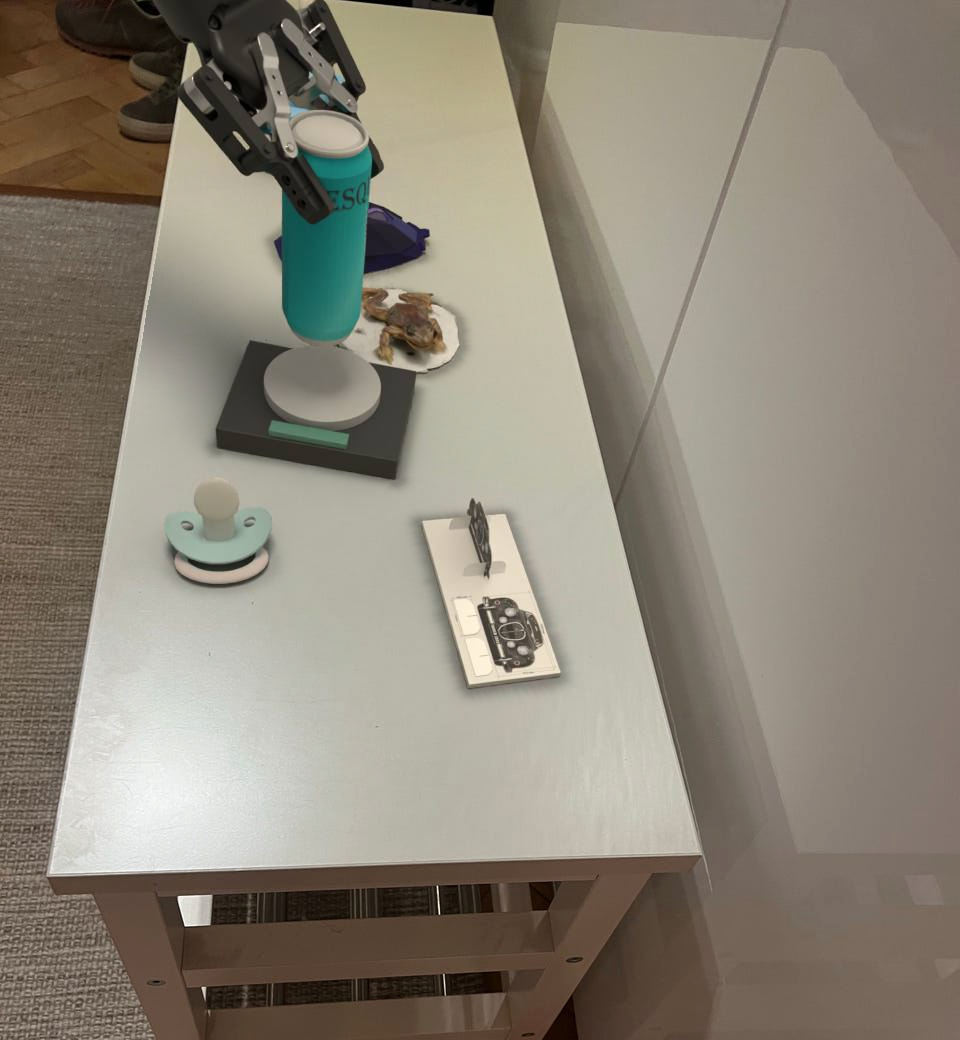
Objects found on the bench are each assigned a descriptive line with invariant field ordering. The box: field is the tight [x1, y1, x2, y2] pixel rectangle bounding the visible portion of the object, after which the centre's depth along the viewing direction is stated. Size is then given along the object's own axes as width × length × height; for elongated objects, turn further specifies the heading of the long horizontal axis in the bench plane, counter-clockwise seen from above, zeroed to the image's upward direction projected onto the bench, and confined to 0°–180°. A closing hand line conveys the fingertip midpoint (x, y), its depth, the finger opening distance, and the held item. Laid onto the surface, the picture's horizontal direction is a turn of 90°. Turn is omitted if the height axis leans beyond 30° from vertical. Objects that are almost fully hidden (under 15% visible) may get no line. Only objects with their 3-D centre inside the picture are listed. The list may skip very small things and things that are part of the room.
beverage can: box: [281, 110, 372, 346], centre depth 69 cm, size 6×6×15 cm
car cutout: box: [420, 497, 562, 689], centre depth 70 cm, size 15×7×4 cm, turn 14°
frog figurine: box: [337, 287, 461, 374], centre depth 87 cm, size 12×12×4 cm
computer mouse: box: [273, 201, 431, 275], centre depth 94 cm, size 9×15×4 cm, turn 111°
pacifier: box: [163, 476, 273, 585], centre depth 68 cm, size 7×6×6 cm
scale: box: [215, 339, 418, 480], centre depth 79 cm, size 14×11×3 cm
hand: (348, 195), depth 65 cm, fingers closed on beverage can, 5 cm apart
